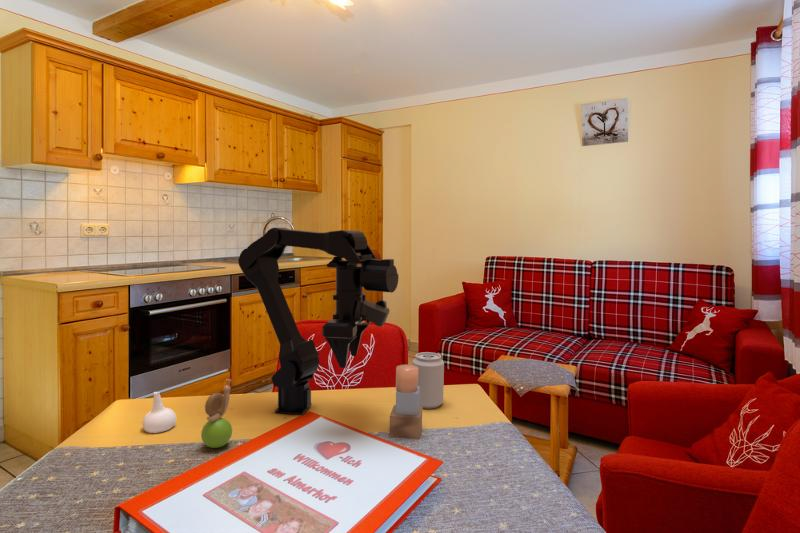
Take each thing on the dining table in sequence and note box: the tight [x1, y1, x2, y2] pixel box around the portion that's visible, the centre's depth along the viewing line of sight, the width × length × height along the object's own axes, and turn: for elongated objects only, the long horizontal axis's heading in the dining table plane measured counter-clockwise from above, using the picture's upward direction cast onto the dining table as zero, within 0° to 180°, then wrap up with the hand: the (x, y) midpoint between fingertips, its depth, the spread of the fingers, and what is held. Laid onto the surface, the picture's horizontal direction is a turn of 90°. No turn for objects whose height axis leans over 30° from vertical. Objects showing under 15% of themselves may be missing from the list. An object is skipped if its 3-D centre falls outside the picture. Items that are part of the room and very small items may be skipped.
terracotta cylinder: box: [395, 364, 418, 393], centre depth 96 cm, size 4×4×4 cm
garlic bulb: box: [142, 391, 177, 434], centre depth 96 cm, size 6×6×8 cm
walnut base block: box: [388, 404, 423, 440], centre depth 96 cm, size 6×6×4 cm
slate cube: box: [395, 386, 420, 415], centre depth 96 cm, size 4×4×4 cm
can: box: [411, 351, 445, 410], centre depth 111 cm, size 8×8×12 cm
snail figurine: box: [200, 378, 233, 449], centre depth 88 cm, size 5×6×12 cm
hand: (348, 361), depth 100 cm, fingers open, 9 cm apart
